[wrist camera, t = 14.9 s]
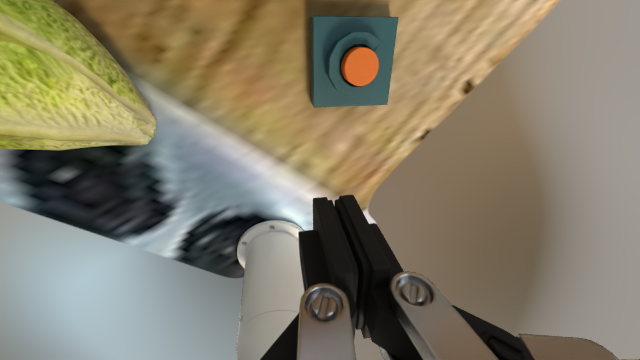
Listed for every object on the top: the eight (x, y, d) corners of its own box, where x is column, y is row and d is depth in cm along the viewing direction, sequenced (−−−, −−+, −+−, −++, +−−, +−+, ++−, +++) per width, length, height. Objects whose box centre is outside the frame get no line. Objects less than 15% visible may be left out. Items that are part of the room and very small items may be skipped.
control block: (381, 101, 37) (392, 107, 33) (311, 103, 35) (316, 110, 32) (390, 18, 32) (405, 16, 29) (310, 17, 31) (315, 14, 27)
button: (371, 83, 32) (377, 85, 30) (340, 84, 31) (343, 86, 30) (375, 46, 30) (381, 47, 28) (341, 46, 29) (345, 47, 28)
